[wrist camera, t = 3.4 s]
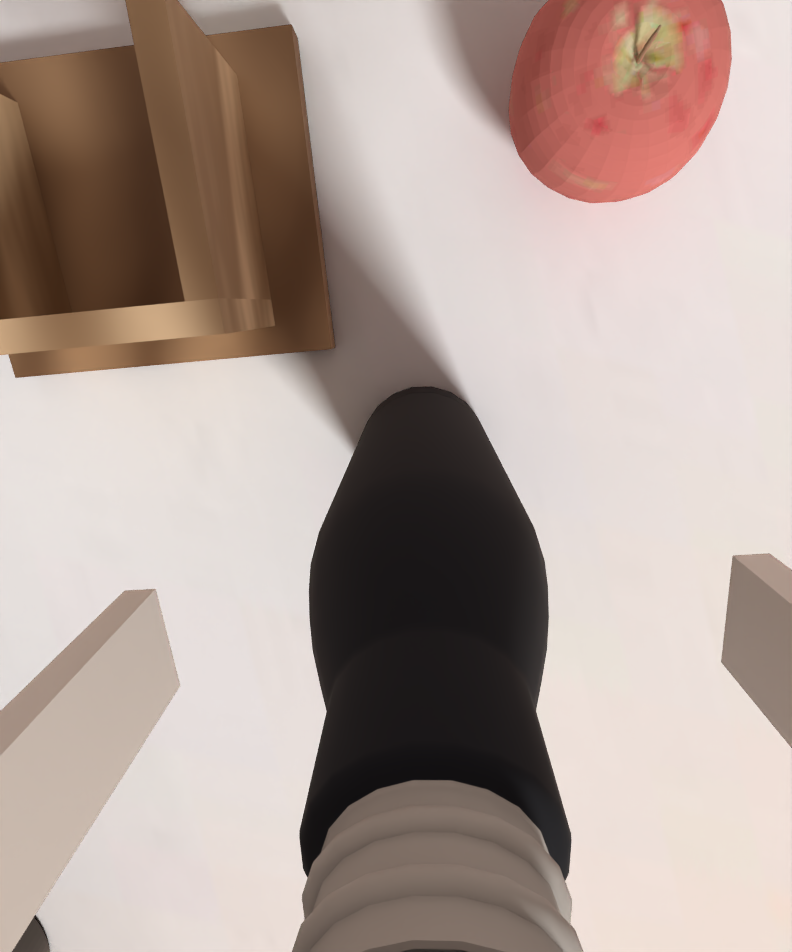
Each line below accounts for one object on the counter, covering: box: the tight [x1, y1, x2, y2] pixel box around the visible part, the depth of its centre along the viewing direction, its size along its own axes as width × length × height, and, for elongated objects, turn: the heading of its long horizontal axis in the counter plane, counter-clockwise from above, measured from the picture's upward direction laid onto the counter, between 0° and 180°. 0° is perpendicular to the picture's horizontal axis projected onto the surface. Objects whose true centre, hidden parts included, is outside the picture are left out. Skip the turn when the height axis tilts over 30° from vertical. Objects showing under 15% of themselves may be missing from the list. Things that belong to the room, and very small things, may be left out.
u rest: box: [0, 0, 335, 378], centre depth 22 cm, size 16×13×8 cm
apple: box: [509, 0, 732, 203], centre depth 20 cm, size 7×7×8 cm
